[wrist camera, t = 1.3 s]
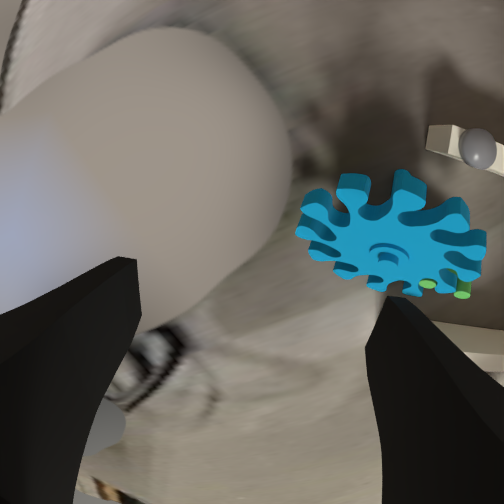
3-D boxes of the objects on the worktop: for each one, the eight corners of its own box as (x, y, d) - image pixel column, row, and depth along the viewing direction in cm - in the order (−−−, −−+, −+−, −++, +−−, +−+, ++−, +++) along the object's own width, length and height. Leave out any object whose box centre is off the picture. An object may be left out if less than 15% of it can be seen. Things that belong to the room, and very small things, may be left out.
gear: (263, 248, 18) (365, 158, 9) (295, 171, 20) (382, 67, 11) (404, 319, 20) (529, 293, 11) (418, 246, 22) (523, 197, 13)
